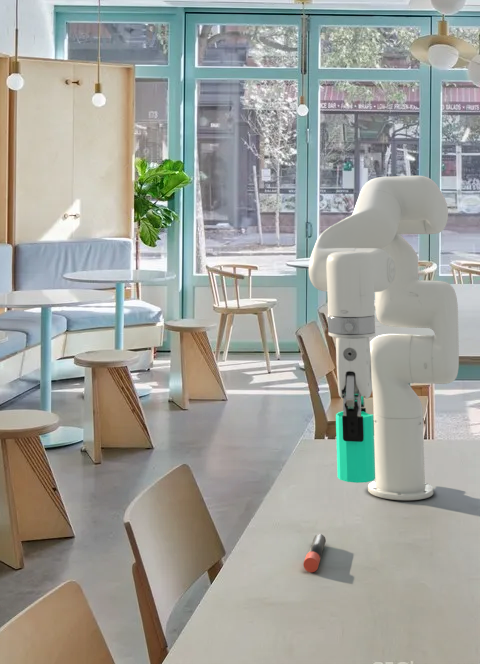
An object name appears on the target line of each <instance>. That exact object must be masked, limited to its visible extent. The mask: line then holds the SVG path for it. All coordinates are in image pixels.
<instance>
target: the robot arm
mask: <svg viewBox="0 0 480 664" xmlns="http://www.w3.org/2000/svg"><path fill="white" fill-rule="evenodd" d="M357 197H358V198H357V200H356V203H355V206H354V209H353V212H352V214H351V215H349V216H347V217H345V218H343V219H341V220H339V221H338V222H336V223H334V224H332V225H331V226H329V227H327V228H325V230H323V231H322V232H321V233H320V235H319V236H318V237H317V239H316V241H315V244H314V247H313V249H312V251H311V253H310V257H309V261H308V262H309V263H308V278H309V281H310V283H311V285H312V286H313V287H314V288H315V289H317V290H319V291H321V292H327V293H326V295H327V326H328V327H327V329H328V331H327V332H328V333H327V334H328V336H329V337H332V338H335V357H336V360H335V361H336V378H337V389H338V390H337V391H338V396H339V397H340V398H341V399H342V402H343V403H342V411H343V416H342V422H343V440H344V441H355V442H362V441H363V439H364V435H363V416H361V411H364V412H366V413H367V409H366V407H365V400H368V399H369V398H370V397H371V395H372V404H373V405H372V407H373V409H372V410H373V423H374V457H375V480H373V481H370V482H368V485H367V491H368V493H369V494H371V495H372V496H375V497H377V498H381V499H386V500H392V501H419V500H424V499H428V498H430V497H432V496H433V495H434V487H433V486H432V484H429V483H428V482H426V479H425V478H426V473H425V470H426V469H425V443H424V410H423V404H422V401H421V399H420V396H418V394H417V393H416V392H415V390H414V389H413V387H411V386H410V384H431V385H432V384H433V385H447V384H451V383H453V382H455V381H456V379H457V377H458V374H459V367H460V350H459V347H460V346H459V342H460V341H459V307H458V305H459V304H458V297H457V293H456V291H455V289H454V287H453V285H451V284H450V283H449V282H447V281H444V280H427V279H426V280H424V279H423V280H421V279H420V278H419V256H418V254H417V252H416V250H415V249H414V248H413V246H412V245H411V243H409V241H407V240H406V238H404V237H403V235H437V234H439V233H441V232H443V231H444V230H445V228H446V226H447V224H448V220H449V209H448V204H447V200H446V198H445V196H444V194H443V192H442V190H441V189H440V187H439V186H438V184H437V183H436V182H435V181H434V180H433V179H431V178H430V177H428V176H425V175H394V176H379V177H373V178H372V179H370V180H368V181H367V182H365V184H363V186H362V188H361V189H360V192H359V194H358V196H357ZM375 315H376V316H375ZM376 319H377V321H378V322H379V323H380V324H381V325H383V326H386V327H391V328H406V329H407V328H408V329H411V328H412V329H413V328H414V329H431V330H432V331H433V332H434V334H414V333H386V334H385V333H384V334H380V335H377V336H376ZM370 338H372V339H371V340H370Z"/></svg>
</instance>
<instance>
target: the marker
mask: <svg viewBox="0 0 480 664" xmlns="http://www.w3.org/2000/svg"><path fill="white" fill-rule="evenodd" d="M326 542H327V539H326V537H325V535H323V534H321V533H317V534H315V535H314V536H313V540H312V542H311V544H310V548H309V551H308V552H307V553H306V555H305V558H304V560H303V563H302V564H303V568H304V570H305V571H307V572H308V573H316V571H317V570H318V568H319V567H320V566H319V565H320V562H321V558H322V556H323V555H322V554H323V552H324V549H325V546H326Z"/></svg>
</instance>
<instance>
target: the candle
mask: <svg viewBox="0 0 480 664" xmlns="http://www.w3.org/2000/svg"><path fill="white" fill-rule="evenodd" d="M342 416H343V410H341V411H338V412H337V413H335V435H336V440H335V441H336V468H337V469H336V471H337V472H336V473H337V479H339V480H340V481H342V482H346V483H356V484H360V483H361V484H362V483H371V482H373V481H375V480H376V474H375V442H374V413H372V414H370V413H368V412H367V411H366V412H364V411H361V416H363V435H364V439H363V441H362V442H355V441H344V440H343V422H342Z"/></svg>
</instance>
